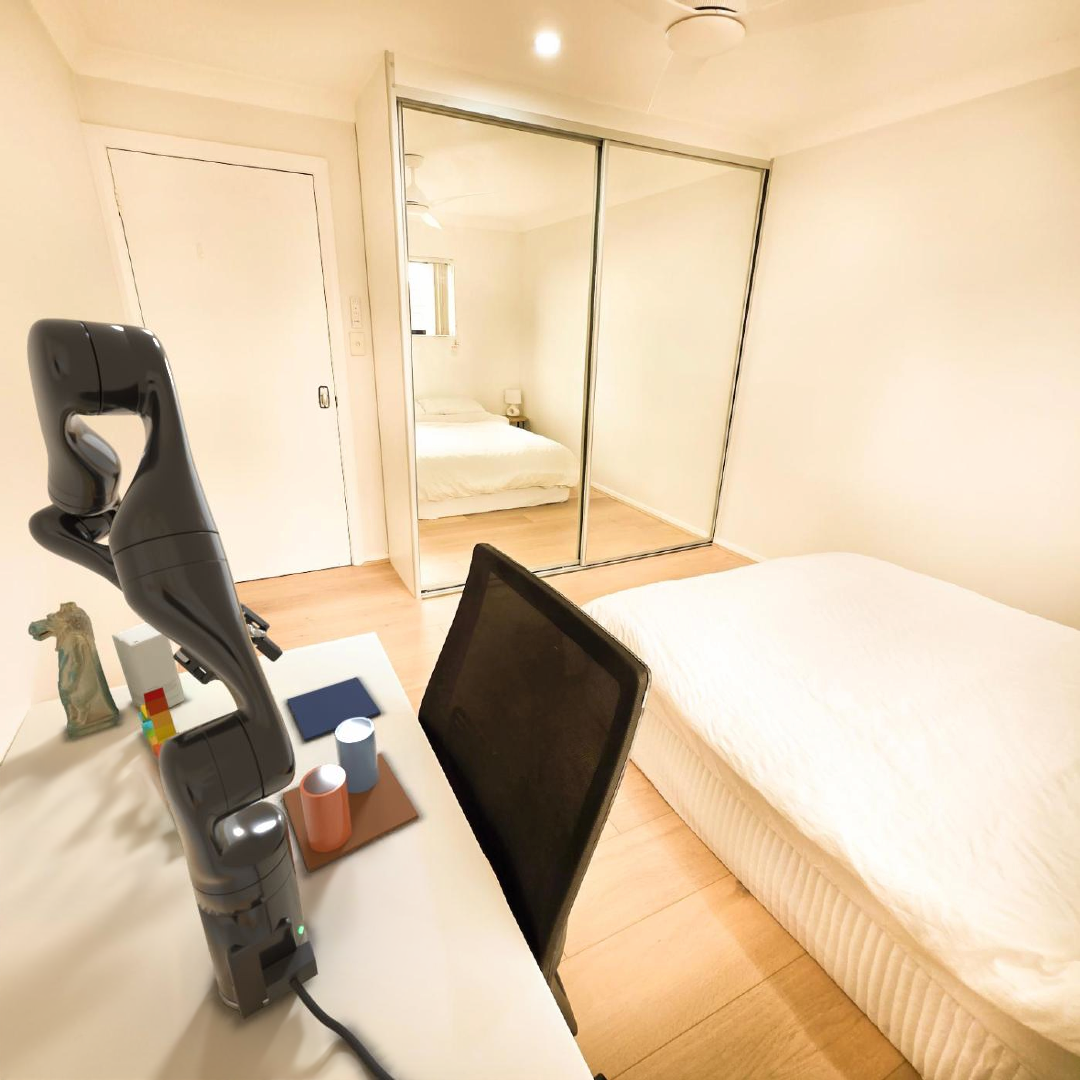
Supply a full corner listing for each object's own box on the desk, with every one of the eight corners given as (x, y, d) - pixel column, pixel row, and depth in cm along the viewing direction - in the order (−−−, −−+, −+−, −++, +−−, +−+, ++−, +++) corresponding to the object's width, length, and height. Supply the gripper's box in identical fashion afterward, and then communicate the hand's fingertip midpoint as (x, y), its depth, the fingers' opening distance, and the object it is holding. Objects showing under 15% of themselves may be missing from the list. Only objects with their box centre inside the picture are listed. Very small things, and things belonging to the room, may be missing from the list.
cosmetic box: (186, 700, 106) (170, 631, 100) (149, 718, 100) (130, 646, 95) (165, 686, 110) (149, 619, 105) (128, 702, 105) (109, 633, 99)
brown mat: (418, 817, 81) (418, 814, 81) (308, 872, 72) (308, 869, 72) (381, 755, 93) (380, 752, 93) (282, 796, 84) (282, 793, 84)
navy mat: (380, 713, 104) (380, 711, 103) (305, 741, 96) (304, 739, 96) (357, 679, 114) (357, 676, 114) (287, 701, 106) (287, 699, 106)
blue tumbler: (384, 782, 86) (380, 732, 83) (347, 799, 83) (341, 747, 80) (371, 760, 91) (367, 712, 88) (335, 775, 88) (329, 725, 84)
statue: (60, 727, 97) (20, 605, 89) (117, 707, 103) (84, 591, 95) (65, 746, 93) (23, 619, 85) (124, 724, 99) (90, 603, 90)
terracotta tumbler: (357, 838, 76) (351, 784, 73) (314, 860, 73) (305, 804, 70) (344, 811, 81) (338, 758, 78) (303, 829, 78) (294, 775, 74)
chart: (220, 820, 80) (202, 738, 74) (196, 833, 77) (175, 750, 72) (164, 725, 99) (146, 655, 94) (143, 733, 97) (124, 662, 92)
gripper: (153, 607, 70) (251, 687, 73) (221, 566, 83) (301, 635, 86) (124, 640, 72) (220, 716, 75) (195, 594, 85) (274, 661, 88)
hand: (263, 672), depth 81 cm, fingers open, 8 cm apart
